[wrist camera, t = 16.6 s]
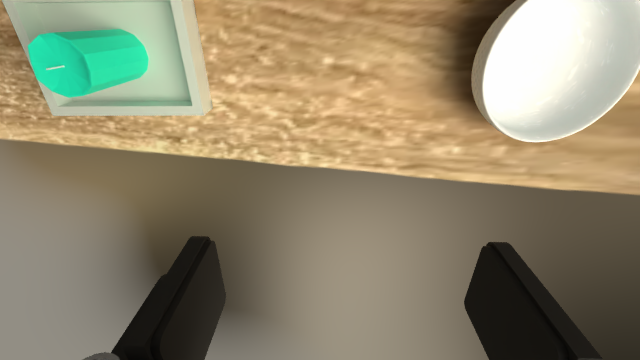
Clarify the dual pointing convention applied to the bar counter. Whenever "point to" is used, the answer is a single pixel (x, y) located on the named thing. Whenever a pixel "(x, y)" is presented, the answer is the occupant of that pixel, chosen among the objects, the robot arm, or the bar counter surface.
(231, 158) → the bar counter surface
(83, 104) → the tray
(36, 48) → the candle
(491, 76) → the cereal bowl
